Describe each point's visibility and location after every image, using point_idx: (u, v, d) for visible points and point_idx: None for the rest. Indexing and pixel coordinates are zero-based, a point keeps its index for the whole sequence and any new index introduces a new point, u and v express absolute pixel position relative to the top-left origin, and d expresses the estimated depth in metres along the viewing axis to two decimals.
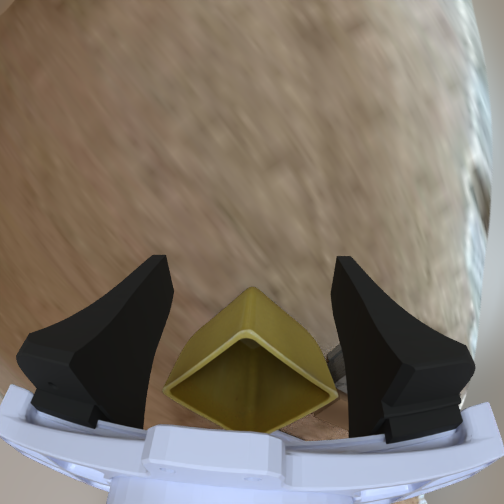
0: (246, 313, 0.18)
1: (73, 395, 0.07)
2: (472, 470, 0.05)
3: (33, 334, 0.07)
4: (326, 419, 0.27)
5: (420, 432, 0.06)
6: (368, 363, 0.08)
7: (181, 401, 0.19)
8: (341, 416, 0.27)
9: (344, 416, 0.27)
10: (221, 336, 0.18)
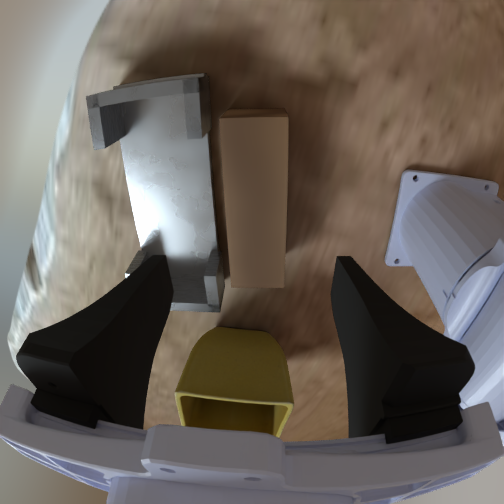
0: None
1: (73, 395, 0.07)
2: (472, 470, 0.05)
3: (33, 335, 0.07)
4: (280, 270, 0.20)
5: (420, 432, 0.06)
6: (368, 363, 0.08)
7: None
8: (260, 257, 0.19)
9: (257, 255, 0.19)
10: None
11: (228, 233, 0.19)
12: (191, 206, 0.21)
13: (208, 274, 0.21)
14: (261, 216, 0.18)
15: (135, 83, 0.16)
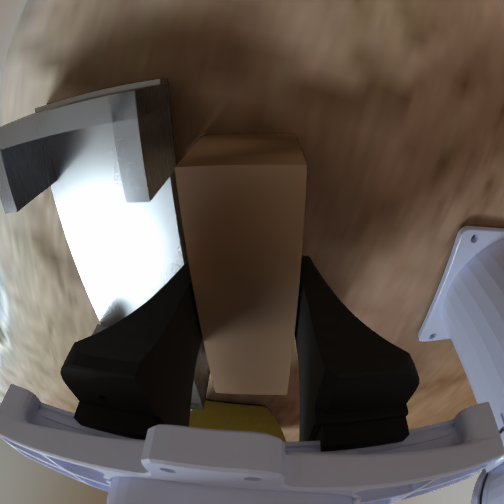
0: None
1: (128, 407, 0.07)
2: (472, 470, 0.05)
3: (81, 344, 0.07)
4: (283, 379, 0.13)
5: (357, 442, 0.06)
6: (309, 366, 0.08)
7: None
8: (255, 367, 0.13)
9: (249, 364, 0.13)
10: None
11: (205, 339, 0.12)
12: (157, 280, 0.14)
13: None
14: (255, 320, 0.11)
15: (61, 101, 0.10)
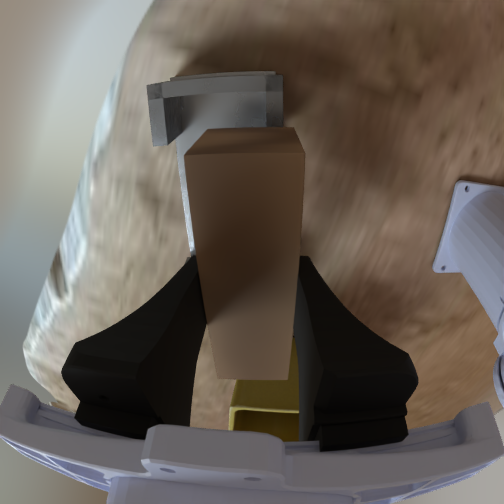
0: None
1: (128, 408, 0.07)
2: (472, 470, 0.05)
3: (81, 344, 0.07)
4: (283, 363, 0.14)
5: (356, 443, 0.06)
6: (308, 366, 0.08)
7: None
8: (256, 350, 0.13)
9: (251, 348, 0.13)
10: None
11: (209, 322, 0.12)
12: None
13: None
14: (257, 303, 0.12)
15: (197, 75, 0.15)
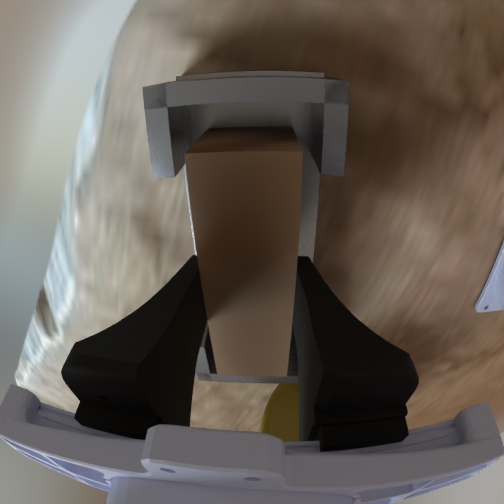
0: None
1: (128, 408, 0.07)
2: (472, 470, 0.05)
3: (81, 344, 0.07)
4: (282, 360, 0.14)
5: (356, 443, 0.06)
6: (308, 366, 0.08)
7: None
8: (256, 346, 0.13)
9: (251, 344, 0.13)
10: None
11: (209, 318, 0.13)
12: None
13: None
14: (256, 299, 0.12)
15: (214, 74, 0.11)
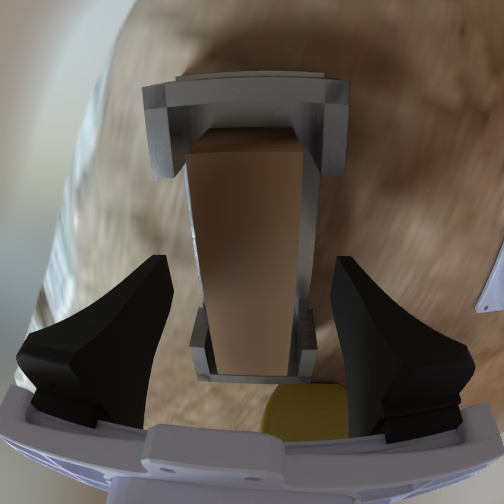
0: None
1: (73, 395, 0.07)
2: (472, 470, 0.05)
3: (33, 334, 0.07)
4: (283, 359, 0.14)
5: (420, 432, 0.06)
6: (368, 363, 0.08)
7: None
8: (256, 346, 0.14)
9: (251, 343, 0.13)
10: None
11: (209, 318, 0.13)
12: None
13: (307, 346, 0.15)
14: (256, 298, 0.12)
15: (214, 74, 0.11)
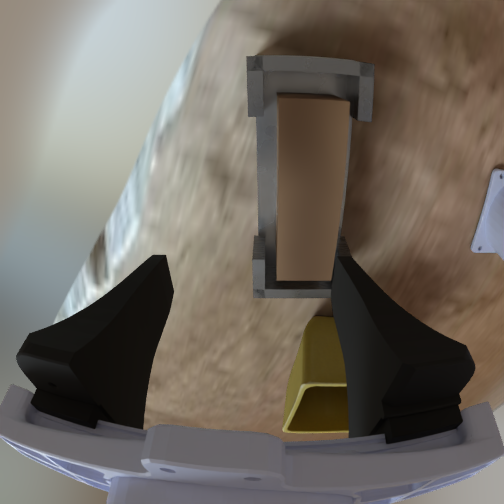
0: None
1: (73, 395, 0.07)
2: (472, 470, 0.05)
3: (33, 335, 0.07)
4: (329, 262, 0.19)
5: (420, 432, 0.06)
6: (368, 363, 0.08)
7: None
8: (311, 248, 0.18)
9: (307, 245, 0.18)
10: None
11: (279, 221, 0.17)
12: None
13: None
14: (315, 203, 0.17)
15: (282, 56, 0.16)
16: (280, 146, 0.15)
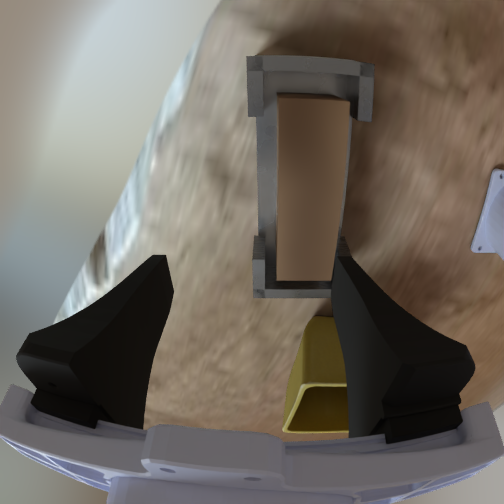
0: None
1: (73, 395, 0.07)
2: (472, 470, 0.05)
3: (33, 335, 0.07)
4: (329, 262, 0.19)
5: (420, 432, 0.06)
6: (368, 363, 0.08)
7: None
8: (311, 248, 0.18)
9: (307, 245, 0.18)
10: None
11: (279, 221, 0.17)
12: None
13: None
14: (315, 203, 0.17)
15: (282, 56, 0.16)
16: (280, 146, 0.15)
